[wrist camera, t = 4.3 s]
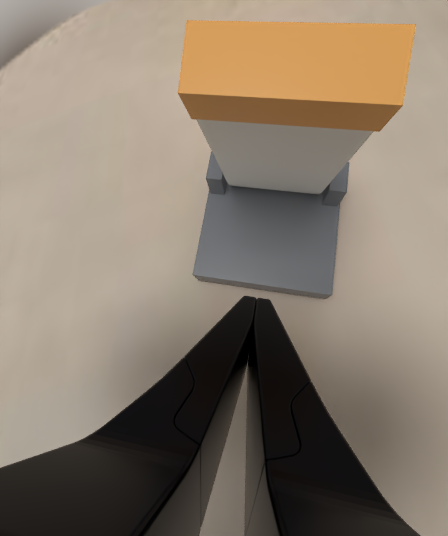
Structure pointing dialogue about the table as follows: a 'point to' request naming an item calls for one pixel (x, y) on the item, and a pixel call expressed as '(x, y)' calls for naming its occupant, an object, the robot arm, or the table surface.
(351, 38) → the lever
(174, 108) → the table surface
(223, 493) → the table surface
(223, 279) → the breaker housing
